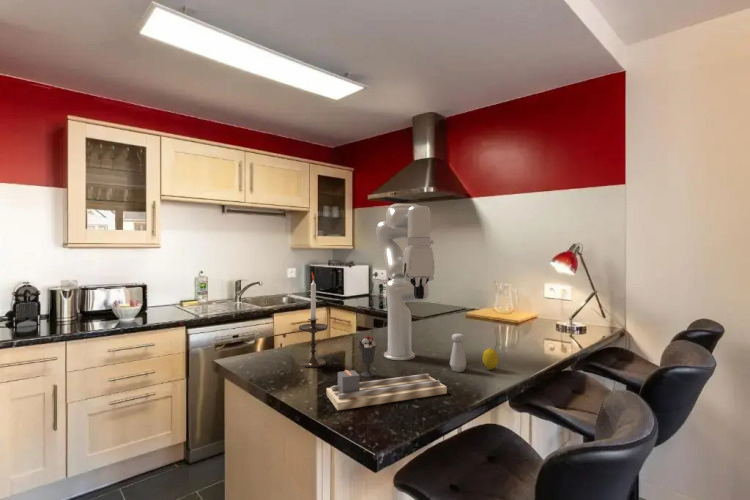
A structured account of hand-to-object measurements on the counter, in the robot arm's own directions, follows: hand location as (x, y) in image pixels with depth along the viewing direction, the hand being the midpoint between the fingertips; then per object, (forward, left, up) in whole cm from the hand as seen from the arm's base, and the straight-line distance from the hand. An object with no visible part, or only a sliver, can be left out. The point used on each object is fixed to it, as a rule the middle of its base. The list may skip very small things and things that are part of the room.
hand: (418, 298), depth 128 cm
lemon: (0, +29, -27) cm, 40 cm away
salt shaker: (-4, +18, -27) cm, 33 cm away
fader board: (+8, -15, -27) cm, 32 cm away
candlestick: (-30, -29, -27) cm, 50 cm away
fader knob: (+8, -27, -25) cm, 37 cm away
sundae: (-11, -14, -27) cm, 33 cm away
